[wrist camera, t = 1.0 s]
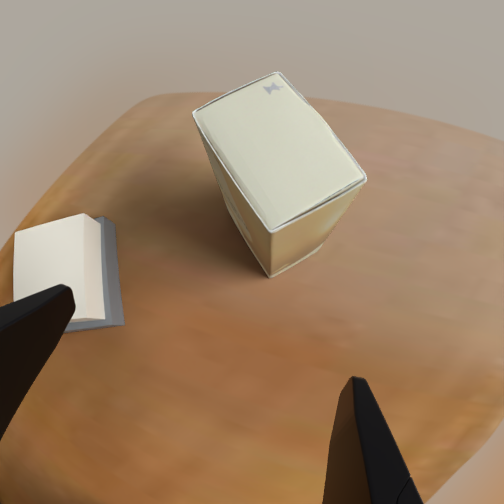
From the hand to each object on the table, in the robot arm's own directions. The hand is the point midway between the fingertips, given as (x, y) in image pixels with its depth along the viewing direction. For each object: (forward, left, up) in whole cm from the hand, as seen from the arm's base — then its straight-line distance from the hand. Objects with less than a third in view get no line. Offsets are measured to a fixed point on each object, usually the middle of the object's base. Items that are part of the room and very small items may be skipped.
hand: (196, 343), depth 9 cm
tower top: (0, +14, -11) cm, 18 cm away
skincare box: (+8, 0, -13) cm, 15 cm away
